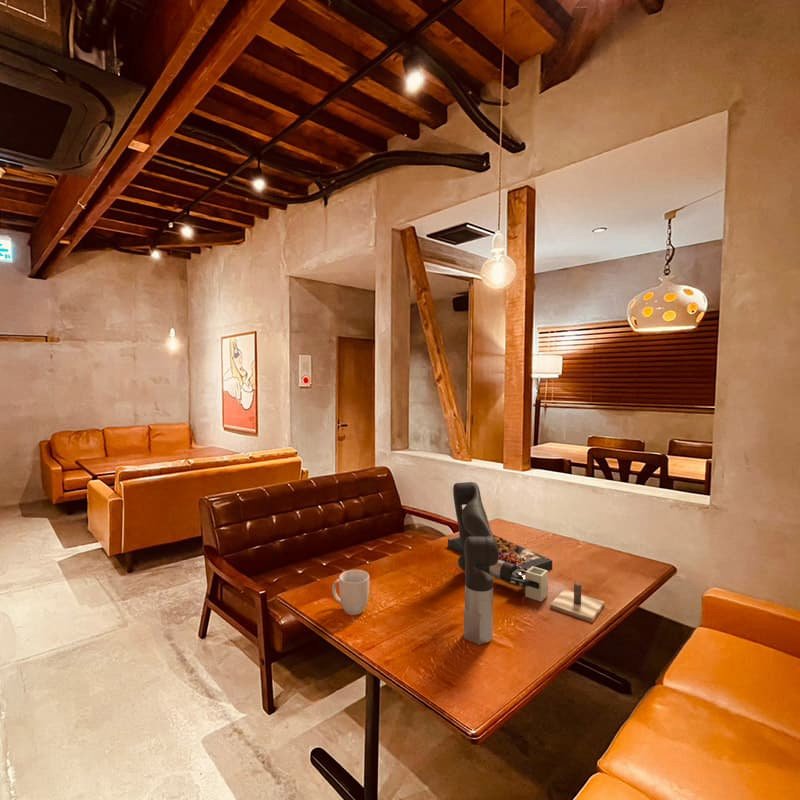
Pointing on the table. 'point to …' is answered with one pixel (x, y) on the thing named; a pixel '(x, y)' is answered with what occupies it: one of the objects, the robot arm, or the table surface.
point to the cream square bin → (541, 578)
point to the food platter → (511, 554)
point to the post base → (577, 604)
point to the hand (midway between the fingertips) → (542, 582)
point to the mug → (352, 591)
